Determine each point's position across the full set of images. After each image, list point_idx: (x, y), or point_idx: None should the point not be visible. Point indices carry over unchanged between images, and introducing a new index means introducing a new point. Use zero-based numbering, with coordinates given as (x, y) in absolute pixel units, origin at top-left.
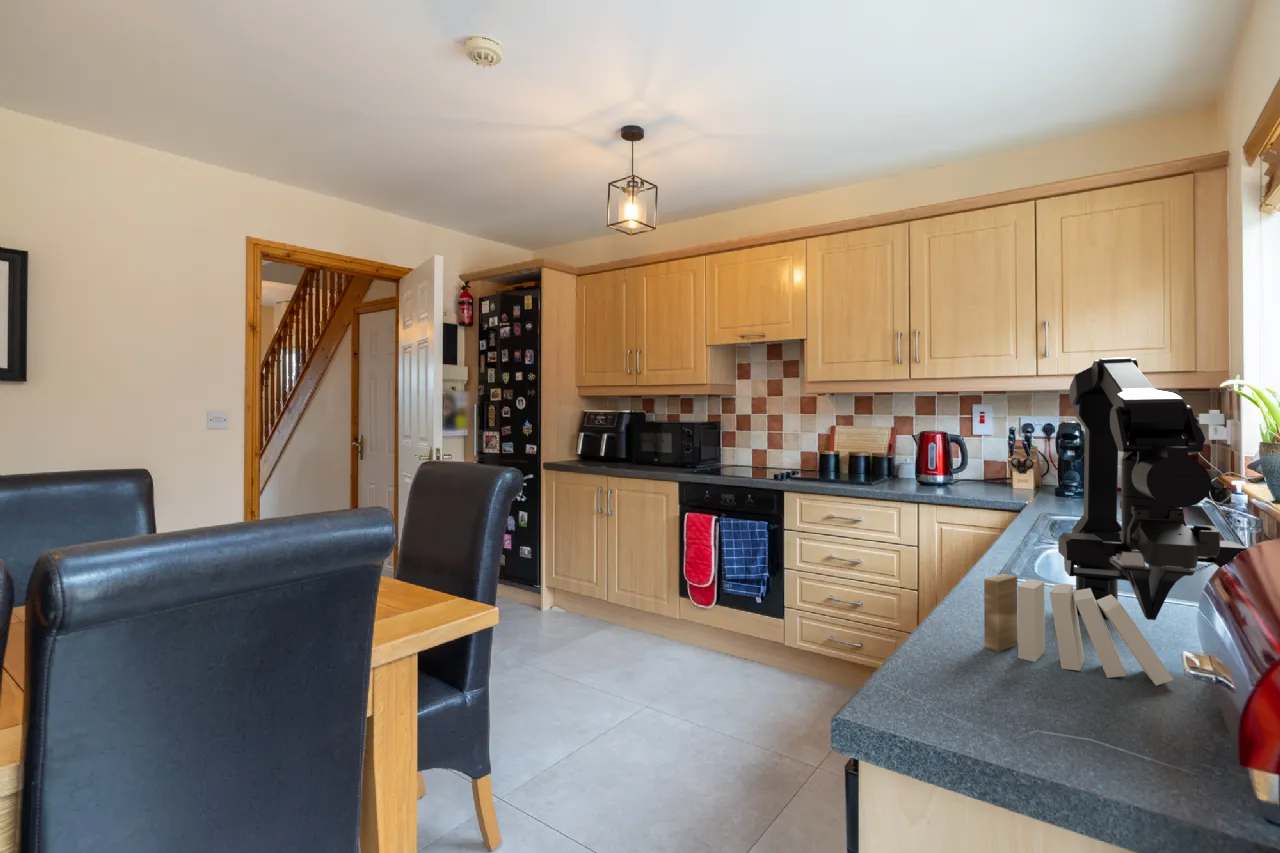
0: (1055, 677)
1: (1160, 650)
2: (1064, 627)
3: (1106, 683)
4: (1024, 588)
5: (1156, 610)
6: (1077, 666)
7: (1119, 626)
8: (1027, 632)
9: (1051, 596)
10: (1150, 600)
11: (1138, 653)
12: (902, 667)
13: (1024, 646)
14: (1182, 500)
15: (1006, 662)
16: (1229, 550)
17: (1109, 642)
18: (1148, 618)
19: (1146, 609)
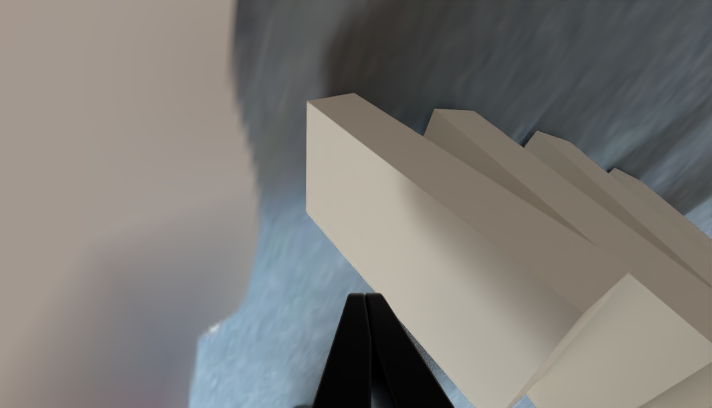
0: (628, 74)
1: (261, 319)
2: (659, 226)
3: (492, 74)
4: None
5: (352, 334)
6: (547, 138)
7: (528, 212)
8: (692, 229)
9: None
10: (395, 388)
11: (420, 145)
12: None
13: (659, 200)
14: None
15: (692, 149)
16: None
17: (518, 173)
18: (379, 293)
19: (399, 333)
